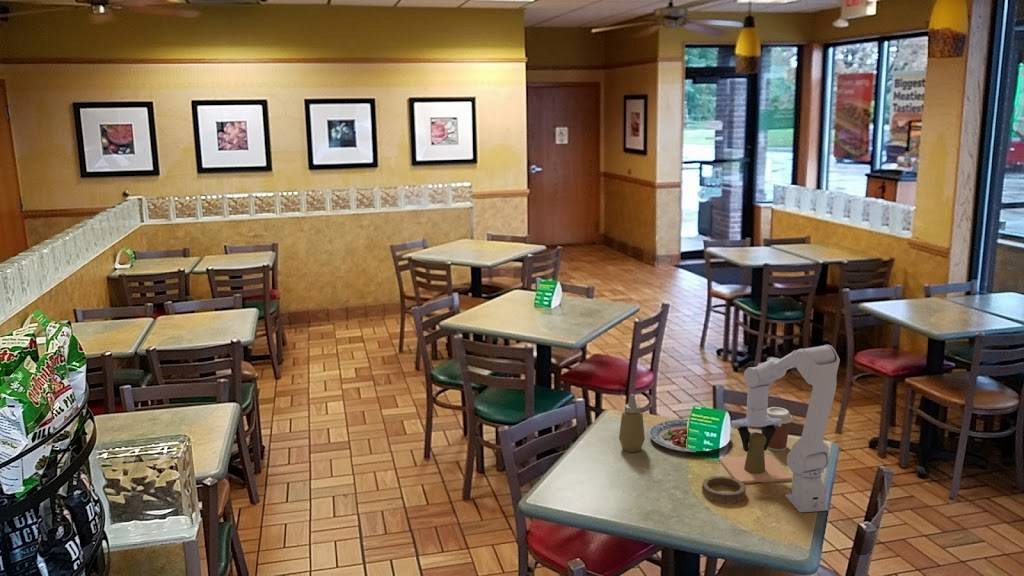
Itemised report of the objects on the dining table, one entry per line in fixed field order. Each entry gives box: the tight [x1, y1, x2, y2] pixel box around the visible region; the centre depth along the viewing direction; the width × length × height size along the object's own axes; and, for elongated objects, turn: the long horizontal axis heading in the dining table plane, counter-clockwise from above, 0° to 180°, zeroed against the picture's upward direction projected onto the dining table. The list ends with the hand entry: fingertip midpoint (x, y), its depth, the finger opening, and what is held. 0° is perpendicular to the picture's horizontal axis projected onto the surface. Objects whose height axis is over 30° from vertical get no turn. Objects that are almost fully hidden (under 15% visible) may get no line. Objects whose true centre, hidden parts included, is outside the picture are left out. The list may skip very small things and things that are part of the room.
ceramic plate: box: [648, 418, 732, 453], centre depth 265 cm, size 26×26×3 cm
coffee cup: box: [767, 406, 793, 452], centre depth 257 cm, size 9×9×12 cm
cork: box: [744, 431, 766, 473], centre depth 240 cm, size 6×6×11 cm
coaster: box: [718, 454, 793, 485], centre depth 243 cm, size 16×16×1 cm
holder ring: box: [701, 475, 747, 504], centre depth 229 cm, size 11×11×2 cm
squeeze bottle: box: [618, 393, 645, 453], centre depth 257 cm, size 8×8×18 cm
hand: (754, 449), depth 242 cm, fingers closed on cork, 5 cm apart
